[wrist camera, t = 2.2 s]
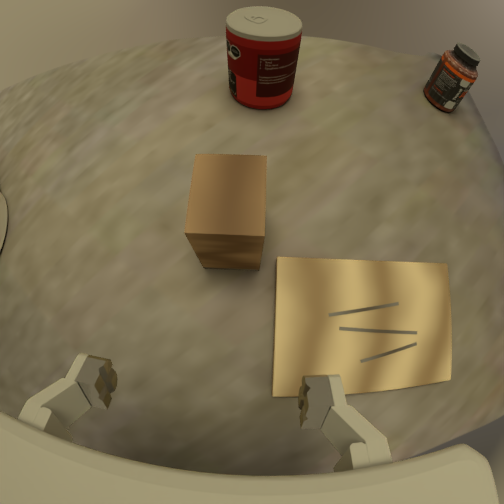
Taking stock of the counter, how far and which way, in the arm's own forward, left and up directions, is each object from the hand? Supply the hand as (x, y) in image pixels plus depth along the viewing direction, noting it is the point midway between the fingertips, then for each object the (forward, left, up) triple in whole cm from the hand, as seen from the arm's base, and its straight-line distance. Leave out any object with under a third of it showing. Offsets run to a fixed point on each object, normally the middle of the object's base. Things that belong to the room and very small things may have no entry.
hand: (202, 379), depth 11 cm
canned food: (+2, +31, -14) cm, 34 cm away
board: (+13, +3, -14) cm, 19 cm away
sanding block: (0, +11, -14) cm, 18 cm away
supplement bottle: (+30, +36, -14) cm, 49 cm away
